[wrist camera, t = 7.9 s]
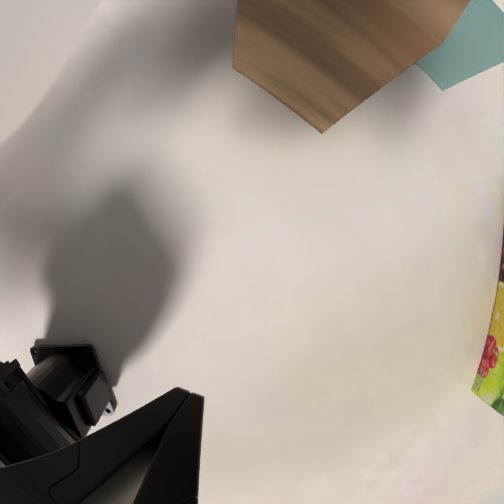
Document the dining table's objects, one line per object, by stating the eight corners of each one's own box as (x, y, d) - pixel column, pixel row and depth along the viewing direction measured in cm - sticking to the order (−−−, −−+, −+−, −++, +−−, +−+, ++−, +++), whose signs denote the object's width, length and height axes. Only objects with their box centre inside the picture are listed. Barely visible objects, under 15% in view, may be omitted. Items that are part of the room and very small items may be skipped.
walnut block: (321, 133, 21) (442, 43, 7) (232, 67, 20) (246, -82, 6) (394, 44, 20) (493, -38, 6) (321, -11, 19) (378, -120, 5)
